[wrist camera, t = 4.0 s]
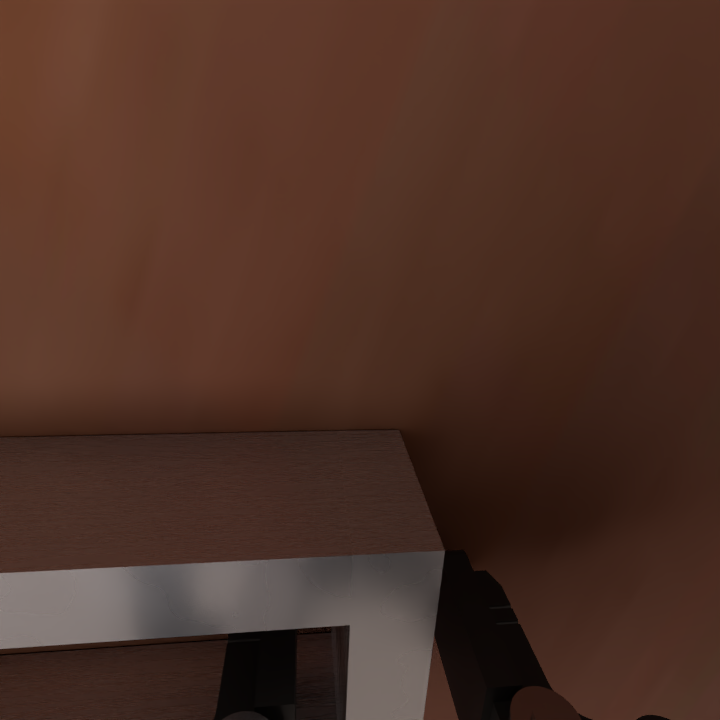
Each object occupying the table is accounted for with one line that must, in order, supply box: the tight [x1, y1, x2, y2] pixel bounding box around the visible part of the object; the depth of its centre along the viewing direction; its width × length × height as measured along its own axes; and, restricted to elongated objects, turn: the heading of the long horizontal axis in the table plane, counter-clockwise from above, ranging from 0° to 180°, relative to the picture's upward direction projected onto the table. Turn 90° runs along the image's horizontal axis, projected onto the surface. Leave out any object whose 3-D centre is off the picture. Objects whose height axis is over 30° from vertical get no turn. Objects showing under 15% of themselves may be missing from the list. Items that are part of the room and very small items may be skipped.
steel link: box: [0, 430, 445, 720], centre depth 10 cm, size 14×8×4 cm, turn 88°
